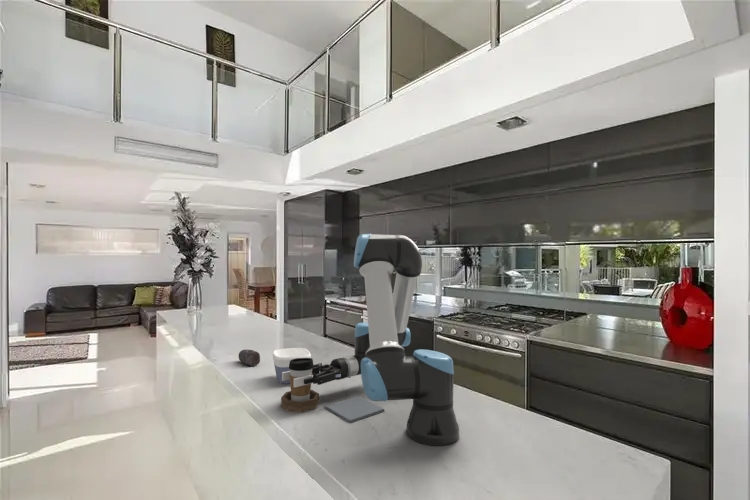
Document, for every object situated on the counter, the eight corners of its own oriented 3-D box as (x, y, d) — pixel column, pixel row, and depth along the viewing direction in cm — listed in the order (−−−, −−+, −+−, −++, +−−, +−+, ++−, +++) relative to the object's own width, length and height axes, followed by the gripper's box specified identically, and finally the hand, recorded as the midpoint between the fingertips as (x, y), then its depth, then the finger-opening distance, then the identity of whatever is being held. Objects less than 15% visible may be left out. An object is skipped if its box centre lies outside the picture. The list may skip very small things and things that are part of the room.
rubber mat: (384, 411, 120) (384, 408, 120) (350, 422, 111) (350, 420, 111) (358, 398, 131) (358, 396, 131) (325, 408, 122) (325, 405, 122)
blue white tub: (313, 383, 147) (313, 355, 147) (274, 387, 141) (274, 358, 141) (306, 372, 161) (306, 346, 161) (270, 375, 155) (270, 349, 156)
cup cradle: (324, 405, 124) (324, 396, 124) (292, 414, 116) (293, 405, 116) (306, 395, 133) (307, 387, 133) (276, 403, 125) (276, 394, 126)
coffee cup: (307, 409, 120) (308, 363, 120) (283, 407, 121) (284, 361, 122) (316, 400, 128) (317, 357, 128) (294, 397, 130) (295, 355, 130)
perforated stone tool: (234, 362, 175) (235, 347, 175) (244, 360, 179) (245, 345, 179) (250, 368, 165) (251, 353, 165) (261, 366, 169) (261, 351, 169)
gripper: (360, 385, 129) (303, 400, 114) (328, 371, 144) (274, 382, 130) (360, 363, 129) (303, 376, 114) (328, 352, 145) (275, 361, 130)
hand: (288, 379), depth 122 cm, fingers closed on coffee cup, 8 cm apart
